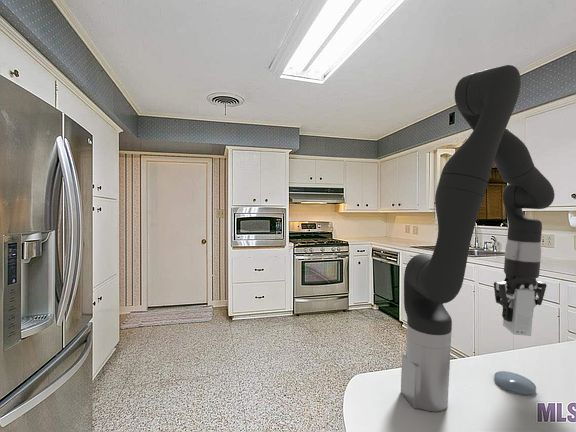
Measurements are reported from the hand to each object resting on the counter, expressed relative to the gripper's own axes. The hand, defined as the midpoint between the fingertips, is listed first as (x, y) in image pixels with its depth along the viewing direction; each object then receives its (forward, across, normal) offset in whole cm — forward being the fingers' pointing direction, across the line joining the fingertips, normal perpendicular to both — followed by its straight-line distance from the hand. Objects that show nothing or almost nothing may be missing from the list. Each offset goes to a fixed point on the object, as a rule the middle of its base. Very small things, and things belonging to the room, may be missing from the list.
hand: (517, 319), depth 84 cm
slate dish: (+14, -6, -6) cm, 16 cm away
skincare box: (+3, 0, 0) cm, 3 cm away
